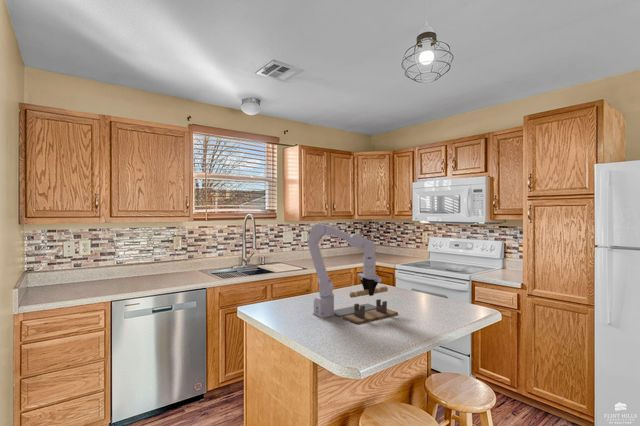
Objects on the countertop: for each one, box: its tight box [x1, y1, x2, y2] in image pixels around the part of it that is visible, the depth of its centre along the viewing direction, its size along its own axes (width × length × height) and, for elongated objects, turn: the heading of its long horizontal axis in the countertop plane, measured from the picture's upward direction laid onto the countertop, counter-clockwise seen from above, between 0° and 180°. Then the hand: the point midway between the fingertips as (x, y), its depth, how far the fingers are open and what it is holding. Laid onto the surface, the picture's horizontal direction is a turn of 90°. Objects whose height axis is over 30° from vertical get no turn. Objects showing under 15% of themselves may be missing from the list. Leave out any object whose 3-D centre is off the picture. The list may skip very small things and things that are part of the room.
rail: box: [349, 286, 389, 299], centre depth 161 cm, size 22×2×2 cm, turn 124°
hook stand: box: [342, 298, 399, 325], centre depth 161 cm, size 26×10×6 cm, turn 124°
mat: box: [334, 303, 376, 318], centre depth 170 cm, size 26×9×1 cm, turn 124°
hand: (369, 294), depth 161 cm, fingers closed on rail, 2 cm apart
